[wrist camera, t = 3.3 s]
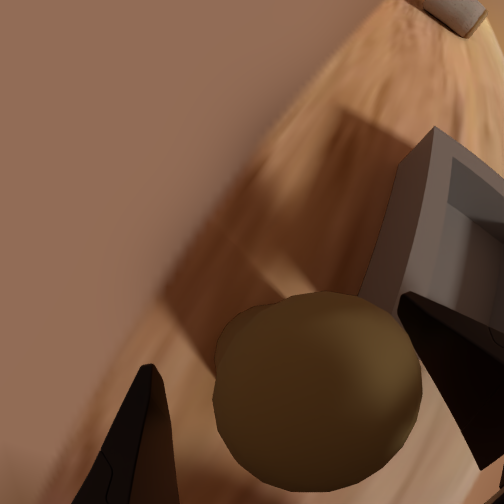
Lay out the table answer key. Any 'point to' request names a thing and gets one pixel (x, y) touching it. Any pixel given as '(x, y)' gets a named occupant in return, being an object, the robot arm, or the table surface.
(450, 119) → the table surface
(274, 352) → the cork
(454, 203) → the holder block
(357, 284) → the table surface
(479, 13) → the ceramic mug
